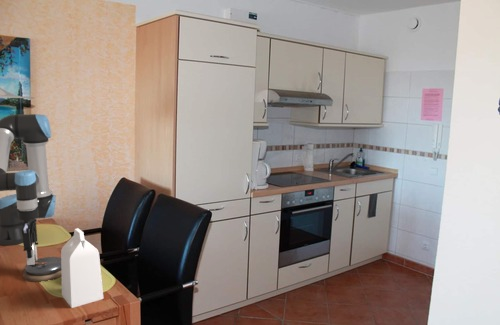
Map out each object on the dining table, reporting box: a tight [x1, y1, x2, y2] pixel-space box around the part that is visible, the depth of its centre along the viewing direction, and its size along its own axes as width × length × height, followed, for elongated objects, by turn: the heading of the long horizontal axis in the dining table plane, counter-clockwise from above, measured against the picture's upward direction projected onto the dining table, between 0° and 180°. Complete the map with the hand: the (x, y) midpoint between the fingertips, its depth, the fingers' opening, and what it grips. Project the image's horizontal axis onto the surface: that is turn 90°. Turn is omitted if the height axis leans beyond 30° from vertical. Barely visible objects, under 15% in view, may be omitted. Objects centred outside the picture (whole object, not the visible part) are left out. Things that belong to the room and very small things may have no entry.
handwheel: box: [24, 242, 61, 276], centre depth 179 cm, size 15×15×11 cm
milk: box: [60, 227, 104, 309], centre depth 158 cm, size 12×12×26 cm
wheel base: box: [22, 268, 62, 283], centre depth 180 cm, size 17×17×2 cm
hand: (32, 262), depth 179 cm, fingers open, 4 cm apart
